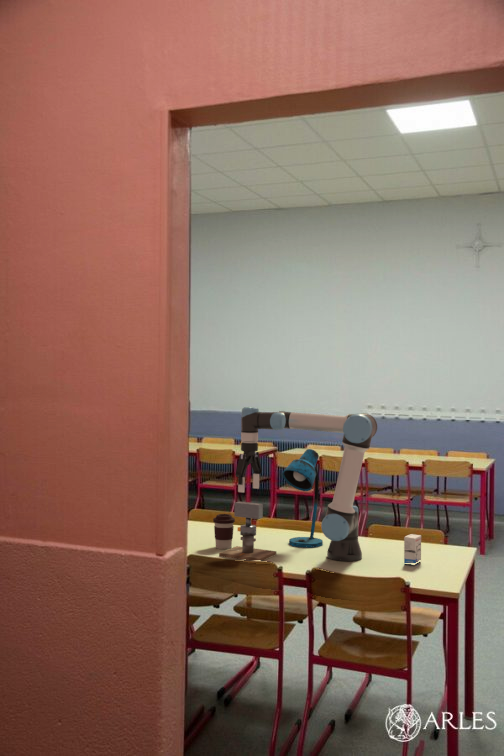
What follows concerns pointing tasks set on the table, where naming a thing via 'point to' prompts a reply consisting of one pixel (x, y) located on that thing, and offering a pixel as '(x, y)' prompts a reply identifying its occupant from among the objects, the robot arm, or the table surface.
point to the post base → (247, 556)
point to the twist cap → (248, 516)
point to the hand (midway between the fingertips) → (248, 490)
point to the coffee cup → (223, 530)
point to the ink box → (412, 548)
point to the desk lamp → (302, 479)
